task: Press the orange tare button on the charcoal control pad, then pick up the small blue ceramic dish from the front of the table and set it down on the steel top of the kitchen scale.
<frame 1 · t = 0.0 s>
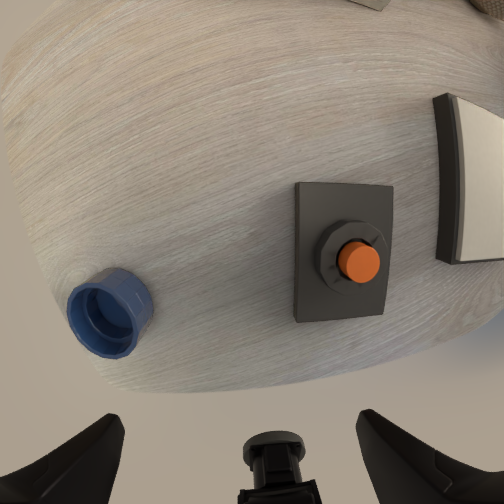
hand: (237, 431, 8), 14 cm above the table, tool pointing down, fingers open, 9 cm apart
tare button: (358, 261, 18), point 4 cm above the table, slide at 0.1 cm
small dish: (121, 301, 22), on the table
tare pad: (342, 251, 22), on the table
scale: (483, 184, 21), on the table
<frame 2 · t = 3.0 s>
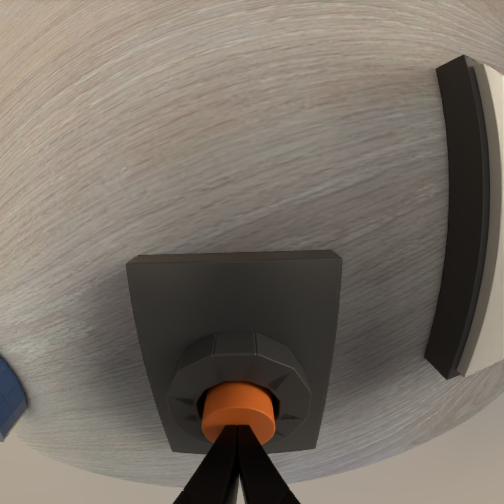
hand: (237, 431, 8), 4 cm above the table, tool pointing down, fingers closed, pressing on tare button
tare button: (238, 414, 9), point 3 cm above the table, slide at -0.2 cm, touching gripper
small dish: (1, 377, 12), on the table
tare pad: (238, 367, 12), on the table
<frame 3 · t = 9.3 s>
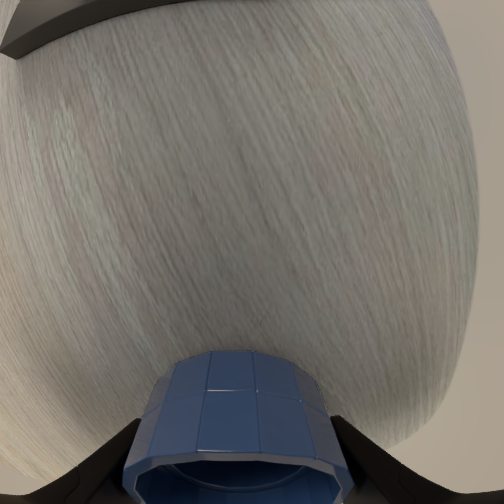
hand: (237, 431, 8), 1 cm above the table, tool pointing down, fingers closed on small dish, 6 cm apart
small dish: (237, 409, 9), on the table, touching gripper
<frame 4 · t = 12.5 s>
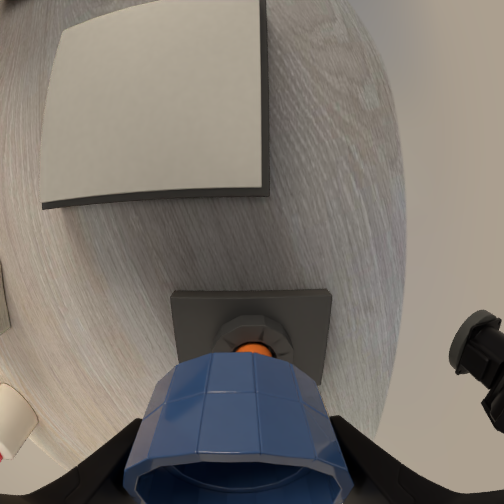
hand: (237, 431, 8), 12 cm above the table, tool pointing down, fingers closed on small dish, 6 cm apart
pill bottle: (18, 404, 23), on the table
tare button: (253, 365, 17), point 4 cm above the table, slide at 0.1 cm
small dish: (237, 410, 9), point 10 cm above the table, touching gripper
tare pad: (251, 339, 20), on the table
scale: (151, 97, 16), on the table
when the fingers open (5 cm above the table, at t = 15.6 s): small dish stays where it is, resting on scale.
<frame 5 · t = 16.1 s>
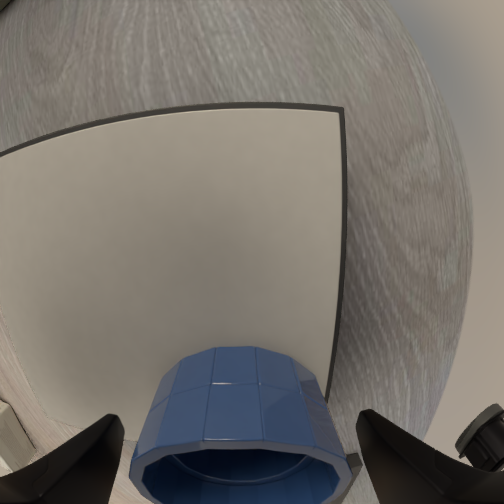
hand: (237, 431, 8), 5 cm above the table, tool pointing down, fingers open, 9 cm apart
small dish: (239, 404, 10), point 3 cm above the table, touching scale
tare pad: (284, 486, 16), on the table
small box: (2, 414, 15), on the table
scale: (150, 293, 12), on the table
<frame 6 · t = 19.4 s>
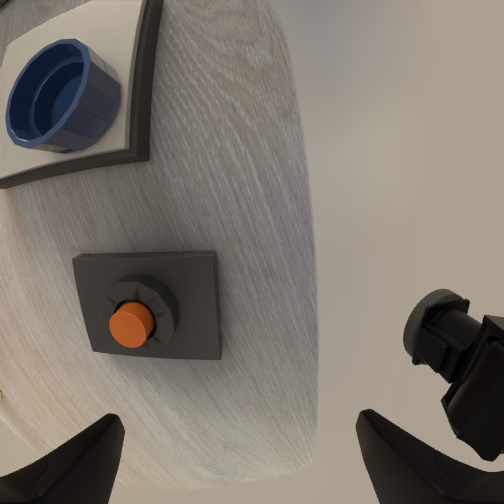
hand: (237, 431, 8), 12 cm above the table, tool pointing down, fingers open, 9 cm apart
tare button: (131, 324, 16), point 4 cm above the table, slide at 0.1 cm
small dish: (81, 107, 13), point 3 cm above the table, touching scale
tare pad: (147, 304, 20), on the table
scale: (67, 89, 16), on the table
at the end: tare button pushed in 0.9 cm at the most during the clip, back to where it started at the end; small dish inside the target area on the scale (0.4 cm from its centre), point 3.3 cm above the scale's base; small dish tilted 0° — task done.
